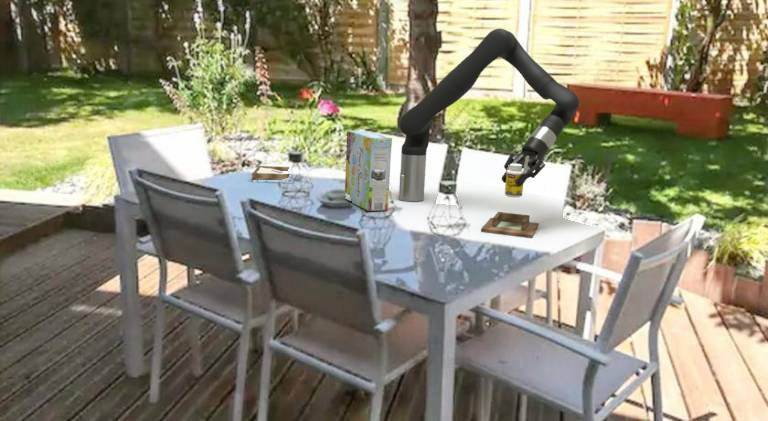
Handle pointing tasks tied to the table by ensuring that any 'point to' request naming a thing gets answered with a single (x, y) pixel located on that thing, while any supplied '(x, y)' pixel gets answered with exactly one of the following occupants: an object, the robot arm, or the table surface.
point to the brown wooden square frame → (510, 225)
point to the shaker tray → (270, 176)
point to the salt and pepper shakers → (269, 171)
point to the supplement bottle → (513, 181)
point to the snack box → (367, 169)
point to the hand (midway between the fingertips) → (510, 182)
